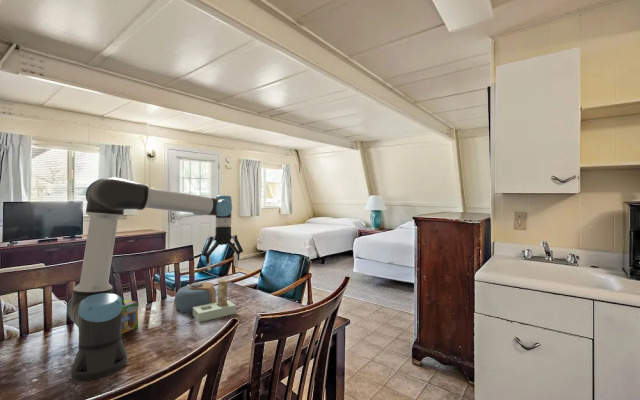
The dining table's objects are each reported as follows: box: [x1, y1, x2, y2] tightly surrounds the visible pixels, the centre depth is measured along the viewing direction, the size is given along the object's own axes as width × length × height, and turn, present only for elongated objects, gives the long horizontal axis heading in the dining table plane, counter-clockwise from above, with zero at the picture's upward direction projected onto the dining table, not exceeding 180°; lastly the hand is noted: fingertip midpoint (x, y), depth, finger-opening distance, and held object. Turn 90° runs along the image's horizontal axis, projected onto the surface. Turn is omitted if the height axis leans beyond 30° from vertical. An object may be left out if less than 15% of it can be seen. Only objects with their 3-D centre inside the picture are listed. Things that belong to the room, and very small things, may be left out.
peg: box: [217, 279, 228, 307], centre depth 149 cm, size 3×3×16 cm
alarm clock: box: [175, 281, 218, 313], centre depth 158 cm, size 19×20×12 cm
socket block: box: [192, 299, 237, 323], centre depth 147 cm, size 18×10×4 cm, turn 128°
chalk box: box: [120, 296, 139, 335], centre depth 129 cm, size 9×9×15 cm
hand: (222, 268), depth 149 cm, fingers open, 13 cm apart
